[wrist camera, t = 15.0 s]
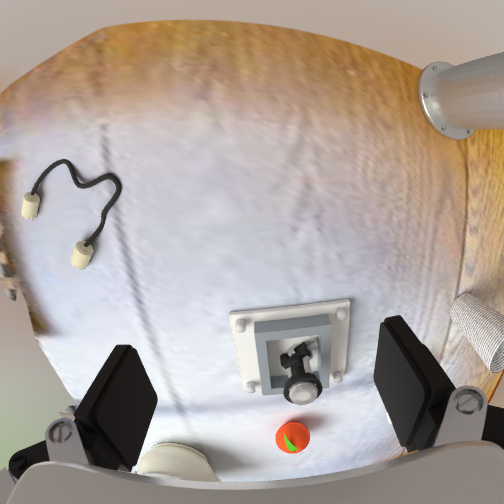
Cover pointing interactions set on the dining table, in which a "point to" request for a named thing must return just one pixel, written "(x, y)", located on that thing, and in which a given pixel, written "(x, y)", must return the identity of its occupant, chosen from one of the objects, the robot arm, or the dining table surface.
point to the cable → (32, 200)
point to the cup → (481, 329)
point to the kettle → (176, 463)
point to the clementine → (292, 437)
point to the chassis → (290, 342)
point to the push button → (300, 374)
